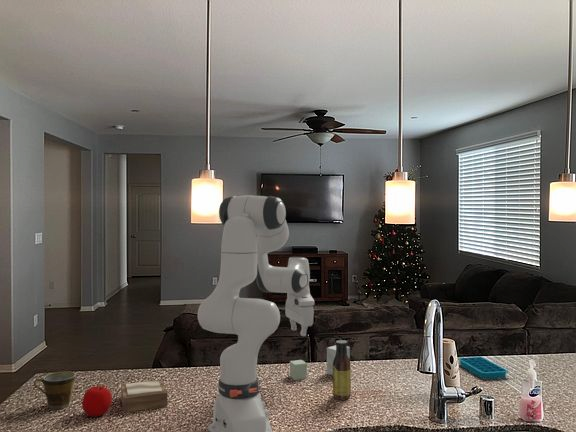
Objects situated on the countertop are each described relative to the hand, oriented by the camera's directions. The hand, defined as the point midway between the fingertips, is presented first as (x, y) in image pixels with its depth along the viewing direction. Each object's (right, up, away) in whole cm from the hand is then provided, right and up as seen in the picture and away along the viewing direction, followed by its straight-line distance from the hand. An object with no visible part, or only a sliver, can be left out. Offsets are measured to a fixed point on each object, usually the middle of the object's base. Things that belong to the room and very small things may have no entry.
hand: (298, 332), depth 198 cm
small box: (+16, -18, +5) cm, 25 cm away
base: (-54, -18, -25) cm, 62 cm away
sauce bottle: (+15, -18, -21) cm, 31 cm away
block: (0, -18, 0) cm, 18 cm away
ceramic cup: (-82, -18, -29) cm, 89 cm away
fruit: (-66, -18, -35) cm, 77 cm away
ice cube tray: (+75, -18, +8) cm, 78 cm away
